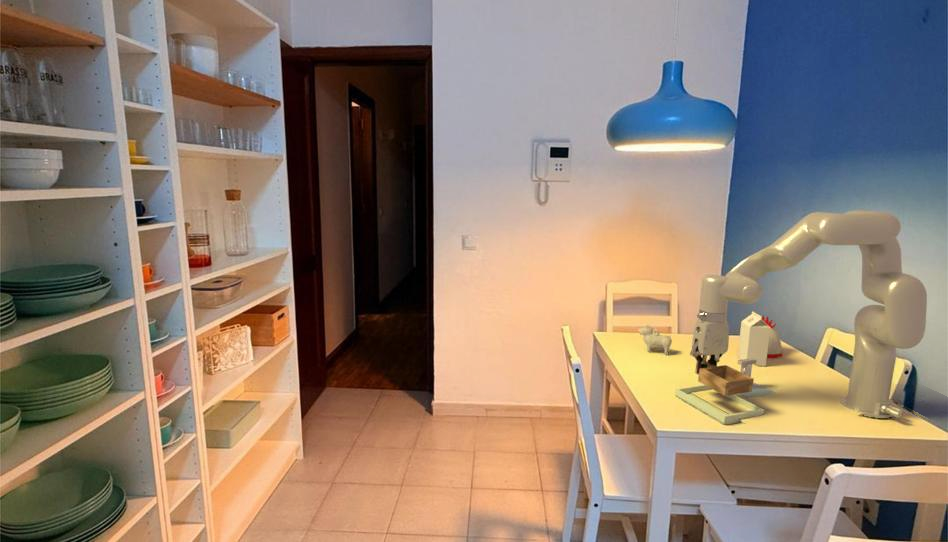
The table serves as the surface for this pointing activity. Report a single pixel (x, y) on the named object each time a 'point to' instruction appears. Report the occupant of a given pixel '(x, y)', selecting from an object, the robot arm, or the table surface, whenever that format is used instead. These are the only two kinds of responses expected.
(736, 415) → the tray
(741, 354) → the milk carton
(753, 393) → the stake board
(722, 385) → the open wooden box
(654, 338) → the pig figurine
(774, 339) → the kitchen timer
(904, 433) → the table surface
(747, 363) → the stake
